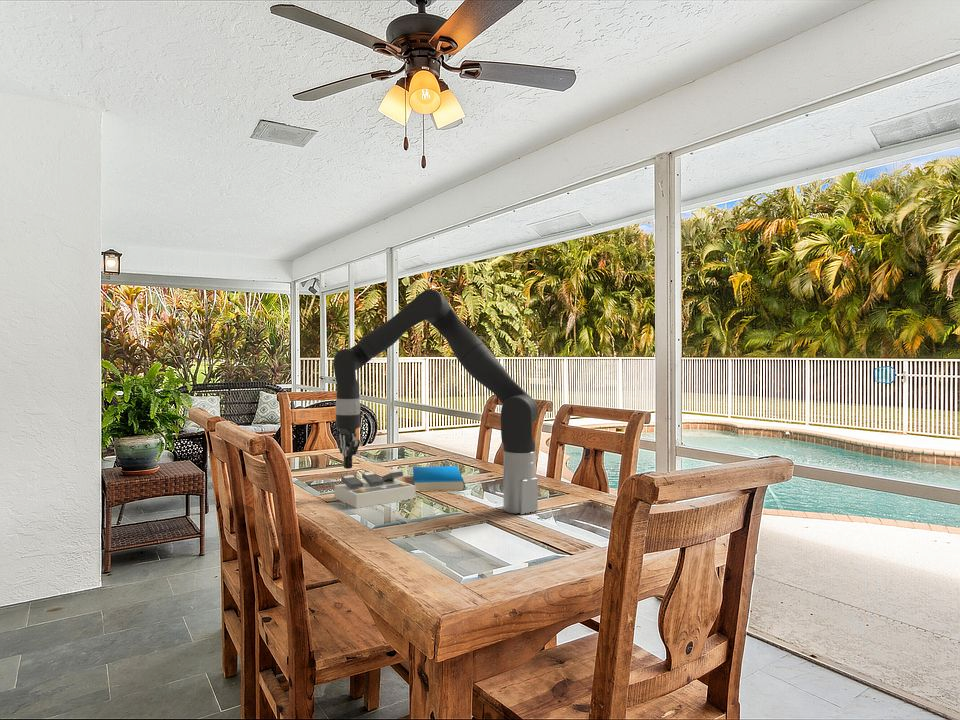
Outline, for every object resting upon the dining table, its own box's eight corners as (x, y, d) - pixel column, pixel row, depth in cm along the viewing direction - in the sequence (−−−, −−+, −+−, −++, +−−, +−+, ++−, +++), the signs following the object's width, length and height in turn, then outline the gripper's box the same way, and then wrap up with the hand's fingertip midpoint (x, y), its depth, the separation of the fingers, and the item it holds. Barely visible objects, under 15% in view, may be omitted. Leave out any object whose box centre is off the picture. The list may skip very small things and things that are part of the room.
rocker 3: (403, 475, 191) (402, 471, 191) (392, 477, 188) (391, 472, 189) (393, 479, 196) (392, 475, 196) (382, 481, 193) (381, 476, 194)
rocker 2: (383, 484, 187) (383, 480, 186) (371, 486, 184) (372, 481, 184) (373, 475, 192) (373, 471, 192) (361, 477, 190) (362, 473, 189)
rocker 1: (362, 487, 182) (363, 482, 182) (350, 488, 180) (351, 484, 180) (353, 479, 188) (353, 474, 188) (341, 480, 185) (341, 476, 185)
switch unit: (415, 498, 186) (415, 484, 186) (356, 508, 174) (356, 493, 174) (390, 489, 199) (390, 476, 199) (334, 497, 187) (334, 483, 187)
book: (414, 481, 196) (412, 466, 221) (414, 494, 196) (412, 477, 221) (465, 479, 198) (457, 464, 223) (465, 492, 198) (457, 476, 223)
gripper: (368, 414, 183) (368, 470, 183) (350, 410, 194) (350, 463, 194) (345, 415, 178) (345, 473, 179) (328, 411, 189) (328, 466, 189)
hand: (347, 468), depth 186 cm, fingers closed
